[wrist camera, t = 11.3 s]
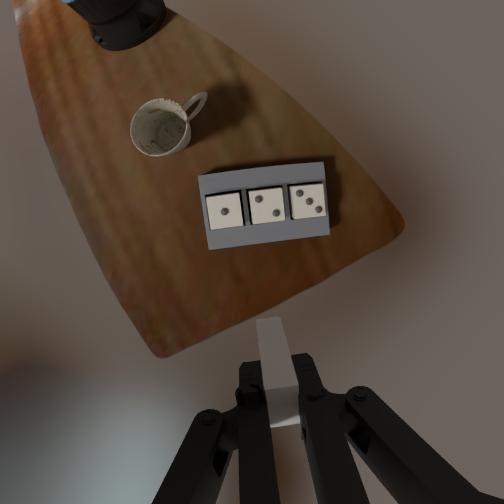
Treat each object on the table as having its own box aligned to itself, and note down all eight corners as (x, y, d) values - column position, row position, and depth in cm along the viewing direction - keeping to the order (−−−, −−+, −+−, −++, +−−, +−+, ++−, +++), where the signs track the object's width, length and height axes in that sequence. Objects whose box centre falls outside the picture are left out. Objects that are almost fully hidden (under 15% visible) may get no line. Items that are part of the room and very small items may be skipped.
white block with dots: (287, 186, 46) (291, 186, 42) (316, 183, 46) (323, 184, 42) (290, 215, 48) (295, 219, 44) (319, 212, 48) (326, 215, 44)
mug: (141, 139, 44) (119, 132, 34) (191, 85, 42) (180, 65, 32) (174, 169, 46) (158, 168, 36) (226, 115, 44) (222, 99, 34)
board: (200, 175, 46) (198, 175, 43) (318, 162, 46) (323, 161, 43) (210, 245, 49) (208, 249, 46) (324, 230, 49) (329, 234, 47)
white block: (208, 196, 46) (205, 197, 42) (238, 191, 46) (238, 193, 42) (212, 225, 47) (210, 230, 44) (242, 221, 47) (243, 225, 44)
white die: (248, 190, 46) (248, 191, 42) (278, 187, 46) (282, 188, 42) (251, 220, 47) (252, 224, 44) (281, 216, 48) (285, 220, 44)
